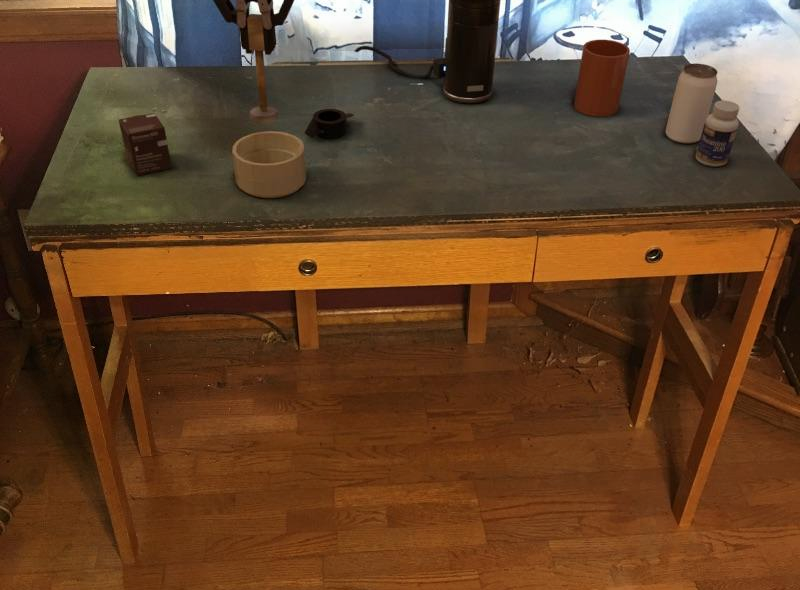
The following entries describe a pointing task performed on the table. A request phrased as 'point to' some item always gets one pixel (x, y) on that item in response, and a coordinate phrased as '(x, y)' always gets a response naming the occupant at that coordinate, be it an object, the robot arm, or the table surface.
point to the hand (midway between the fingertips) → (259, 51)
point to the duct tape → (328, 124)
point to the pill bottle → (718, 134)
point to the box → (145, 143)
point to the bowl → (269, 164)
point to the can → (691, 103)
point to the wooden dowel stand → (259, 72)
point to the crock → (601, 77)
